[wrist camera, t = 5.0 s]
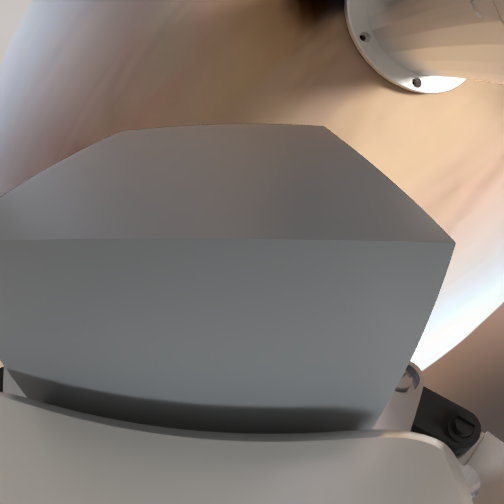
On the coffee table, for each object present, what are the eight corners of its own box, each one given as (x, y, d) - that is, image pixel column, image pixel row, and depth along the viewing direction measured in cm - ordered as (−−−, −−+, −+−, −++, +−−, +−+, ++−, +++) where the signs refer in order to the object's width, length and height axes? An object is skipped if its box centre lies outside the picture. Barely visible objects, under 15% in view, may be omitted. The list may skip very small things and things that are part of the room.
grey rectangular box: (119, 131, 11) (-59, 242, 3) (323, 126, 11) (455, 242, 3) (159, 343, 17) (118, 491, 9) (301, 347, 16) (317, 506, 9)
